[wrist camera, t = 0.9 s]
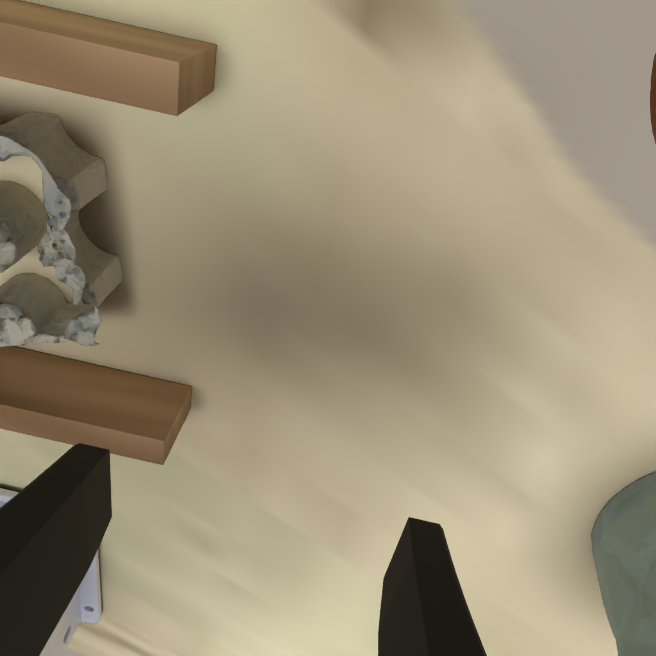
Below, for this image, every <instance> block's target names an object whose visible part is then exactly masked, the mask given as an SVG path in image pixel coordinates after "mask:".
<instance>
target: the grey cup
mask: <svg viewBox="0 0 656 656" xmlns="http://www.w3.org/2000/svg"><path fill="white" fill-rule="evenodd" d="M591 536H592V549H593V556H594V561H595V566H596V571H597V575H598V580H599V585H600V590H601V594H602V599H603V603H604V606H605V610H606V614H607V618H608V621H609V623H610V626H611V629H612V632H613V634H614V637H615V639H616V644H617V650H618V656H656V472H654V473H652V474H649V475H647V476H645V477H643V478H641V479H639V480H637V481H635V482H634V483H632V484H630V485H629V486H627V487H626V488H624V489H623V490H621V491H620V492H619V493H618V494H617V495H616V496H615V497H613V498H612V499H611V500H610V501H609V502H608V503H607V505H606V506H605V507H604V508H603V509H602V511H601V513H600V515H599V516H598V518H597V520H596V523H595V526H594V528H593V531H592V534H591Z"/></svg>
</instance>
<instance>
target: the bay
mask: <svg viewBox="0 0 656 656" xmlns="http://www.w3.org/2000/svg"><path fill="white" fill-rule="evenodd" d="M215 58H216V45H215V44H211V43H206V42H202V41H197V40H193V39H189V38H184V37H180V36H175V35H171V34H166V33H162V32H158V31H153V30H149V29H144V28H140V27H136V26H131V25H127V24H122V23H118V22H113V21H109V20H105V19H100V18H96V17H91V16H87V15H83V14H78V13H74V12H69V11H65V10H60V9H56V8H52V7H47V6H43V5H38V4H34V3H30V2H25V1H21V0H0V76H2V77H7V78H11V79H16V80H20V81H24V82H29V83H33V84H38V85H42V86H47V87H51V88H55V89H60V90H64V91H69V92H73V93H77V94H82V95H86V96H91V97H95V98H100V99H104V100H108V101H113V102H117V103H122V104H126V105H130V106H135V107H139V108H144V109H148V110H153V111H157V112H161V113H166V114H170V115H175V116H178V115H179V114H181V113H182V112H184V111H185V110H187V109H188V108H189V107H191V106H192V105H194V104H195V103H197V102H198V101H199V100H201V99H202V98H204V97H205V96H207V95H208V94H209V93H211V92H212V91H213V86H214V72H215ZM191 390H192V387H191V386H187V385H182V384H178V383H173V382H169V381H164V380H160V379H155V378H151V377H147V376H142V375H138V374H133V373H129V372H124V371H120V370H116V369H111V368H107V367H102V366H98V365H93V364H89V363H85V362H80V361H76V360H71V359H67V358H62V357H58V356H54V355H49V354H45V353H40V352H36V351H31V350H27V349H23V348H18V347H14V346H2V347H0V428H1V429H5V430H10V431H14V432H19V433H23V434H28V435H32V436H36V437H41V438H45V439H50V440H54V441H59V442H63V443H67V444H72V445H76V444H78V443H82V444H86V445H91V446H95V447H100V448H104V449H109V450H110V453H112V454H116V455H121V456H125V457H130V458H134V459H138V460H143V461H147V462H152V463H156V464H161V465H163V464H164V462H165V460H166V458H167V456H168V454H169V452H170V450H171V448H172V446H173V444H174V442H175V440H176V438H177V436H178V433H179V431H180V429H181V427H182V425H183V423H184V421H185V419H186V417H187V415H188V413H189V411H190V404H191Z"/></svg>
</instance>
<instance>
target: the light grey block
mask: <svg viewBox="0 0 656 656" xmlns="http://www.w3.org/2000/svg"><path fill="white" fill-rule="evenodd" d="M650 111H651V123H652V132H653V135H654V139H655V143H656V54H655V57H654V61H653V68H652V76H651V91H650Z"/></svg>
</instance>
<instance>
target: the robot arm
mask: <svg viewBox="0 0 656 656" xmlns="http://www.w3.org/2000/svg"><path fill="white" fill-rule="evenodd" d="M111 517H112V508H111V479H110V450H109V449H104V448H100V447H95V446H91V445H86V444H82V443H78V444H76V445H74V446H73V447H72V448H71V449H69V450H68V451H67V452H66V453H65V454H64V455H63V456H61V457H60V458H59V459H58V460H57V461H56V462H55V463H53V464H52V465H51V466H50V467H49V468H48V469H46V470H45V471H44V472H43V473H42V474H41V475H39V476H38V477H37V478H36V479H35V480H34V481H32V482H31V483H30V484H29V485H28V486H26V487H25V488H24V489H23V490H22V491H20V492H15V491H11V490H6V489H2V488H0V656H63V654H64V652H65V650H66V648H67V646H68V644H69V642H70V640H71V638H72V636H73V634H74V632H75V630H76V628H77V626H78V624H79V622H80V621H82V622H87V623H92V624H95V623H98V622H99V620H100V618H101V616H102V610H101V593H100V575H99V558H98V548H99V546H100V543H101V541H102V539H103V536H104V534H105V531H106V529H107V527H108V524H109V522H110V520H111ZM378 656H487V655H486V653H485V650H484V648H483V645H482V643H481V640H480V637H479V635H478V632H477V630H476V627H475V625H474V622H473V619H472V617H471V614H470V612H469V609H468V606H467V603H466V601H465V598H464V595H463V592H462V589H461V586H460V583H459V580H458V577H457V574H456V571H455V568H454V565H453V562H452V559H451V555H450V552H449V549H448V545H447V542H446V538H445V535H444V531H443V529H442V527H441V526H440V524H437V523H432V522H428V521H423V520H419V519H415V518H410V517H409V518H408V520H407V523H406V525H405V528H404V530H403V532H402V535H401V537H400V540H399V542H398V545H397V547H396V549H395V552H394V554H393V557H392V559H391V562H390V564H389V566H388V569H387V571H386V574H385V576H384V580H383V590H382V599H381V609H380V620H379V631H378Z"/></svg>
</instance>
